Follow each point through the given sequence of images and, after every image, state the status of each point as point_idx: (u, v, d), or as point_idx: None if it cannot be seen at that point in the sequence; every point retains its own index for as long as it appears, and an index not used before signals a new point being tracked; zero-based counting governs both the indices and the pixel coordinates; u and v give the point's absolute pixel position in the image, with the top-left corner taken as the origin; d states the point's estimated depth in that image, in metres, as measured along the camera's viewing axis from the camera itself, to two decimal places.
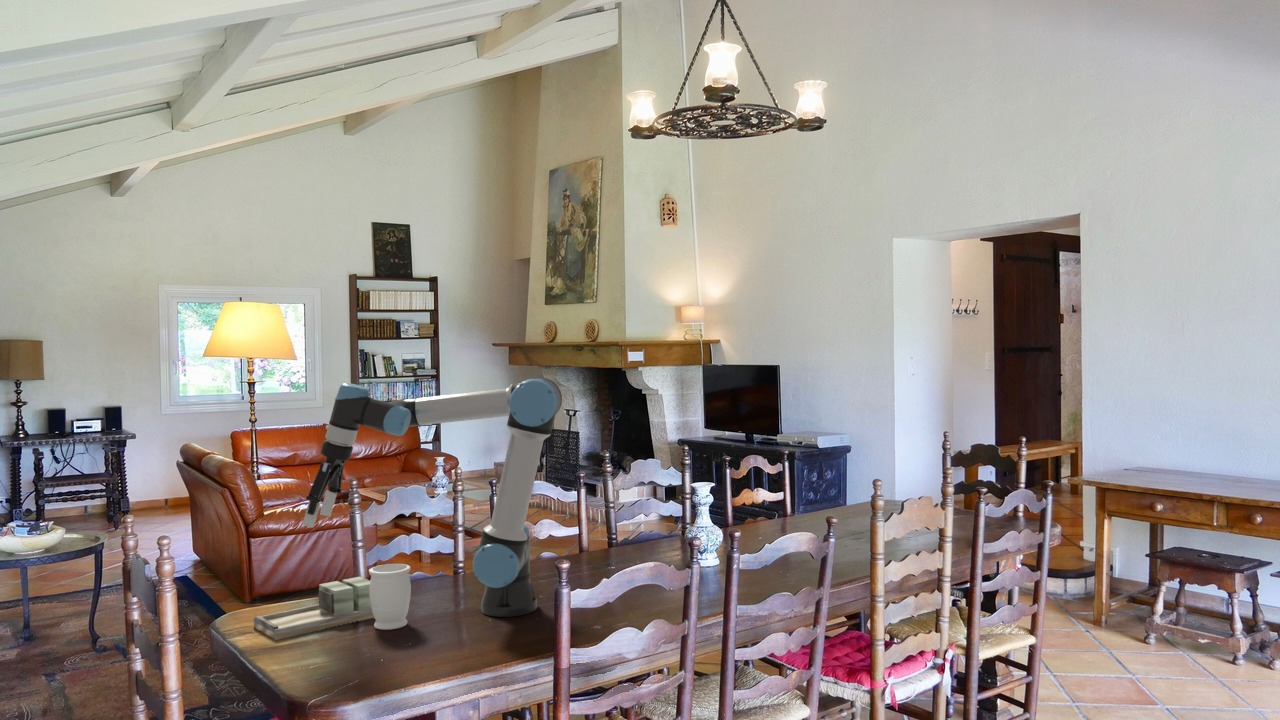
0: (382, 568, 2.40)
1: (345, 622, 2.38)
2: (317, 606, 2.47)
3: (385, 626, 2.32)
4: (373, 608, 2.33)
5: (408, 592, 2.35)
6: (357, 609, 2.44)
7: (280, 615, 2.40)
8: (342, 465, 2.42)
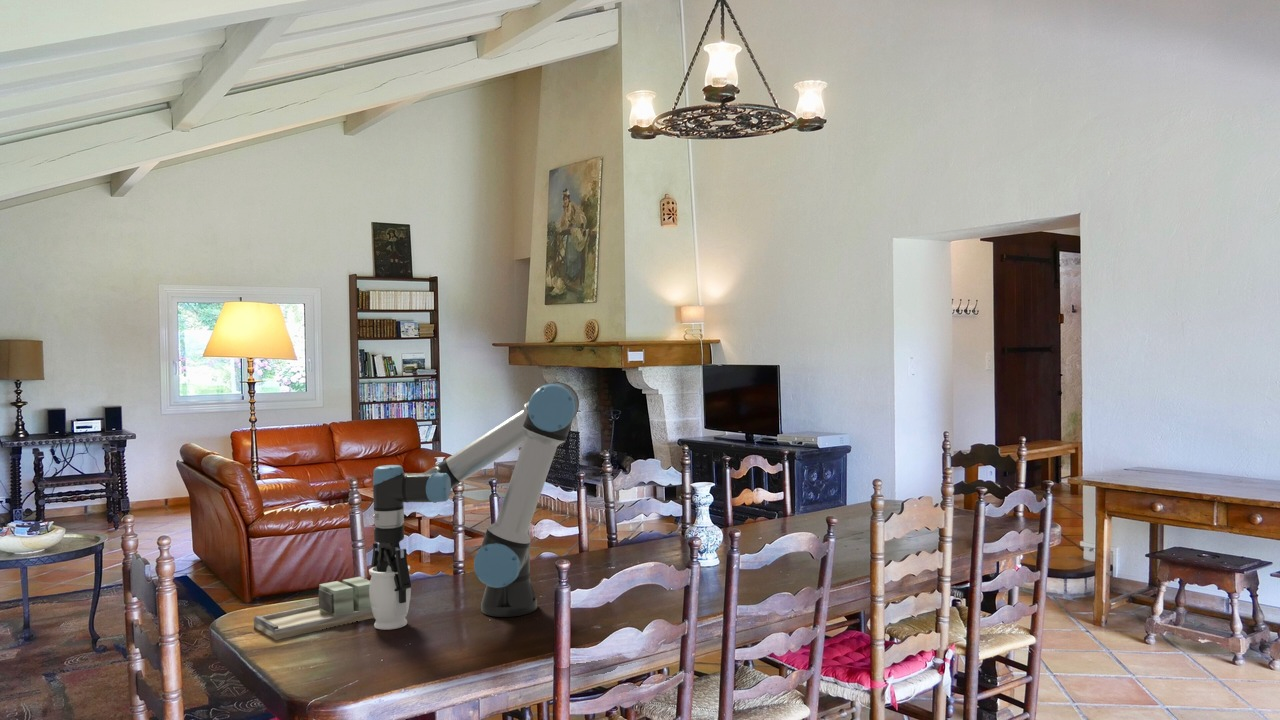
0: None
1: (345, 622, 2.38)
2: (317, 606, 2.47)
3: (385, 626, 2.32)
4: (373, 608, 2.33)
5: (408, 592, 2.35)
6: (357, 609, 2.44)
7: (280, 615, 2.40)
8: None
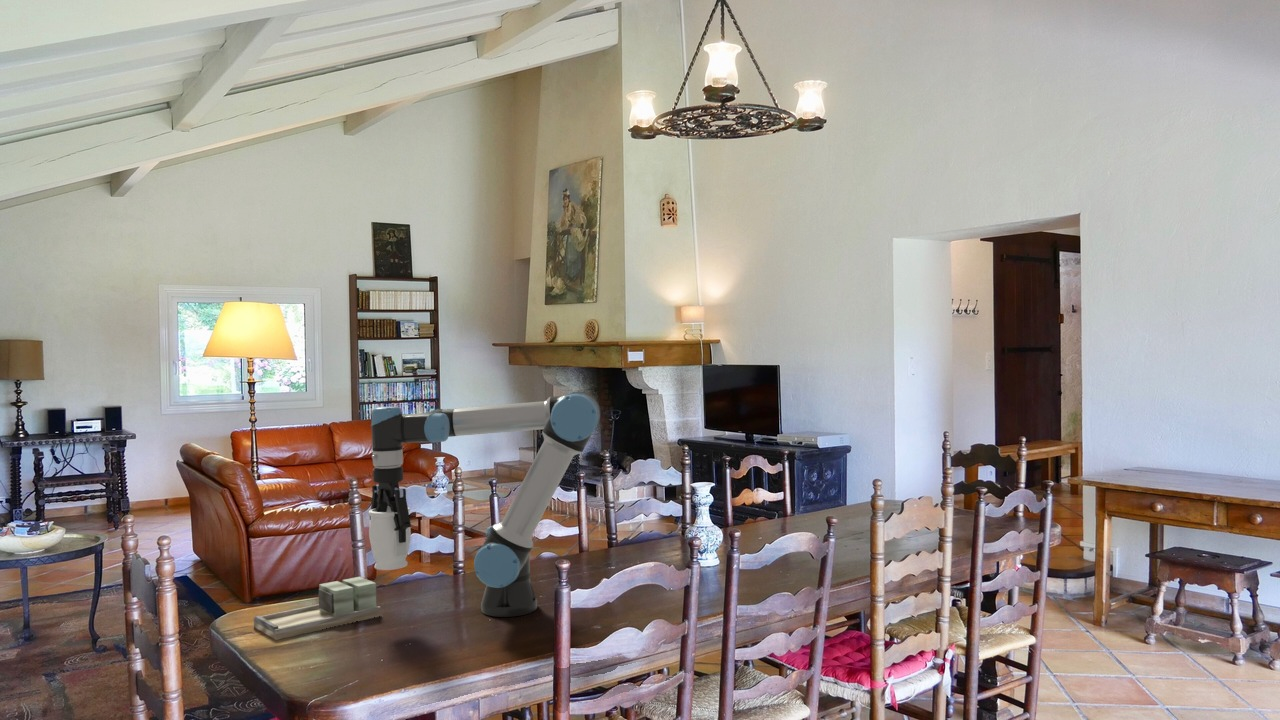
0: None
1: (345, 622, 2.38)
2: (317, 606, 2.47)
3: (385, 566, 2.32)
4: (373, 549, 2.33)
5: (408, 533, 2.35)
6: (357, 609, 2.44)
7: (280, 615, 2.40)
8: None
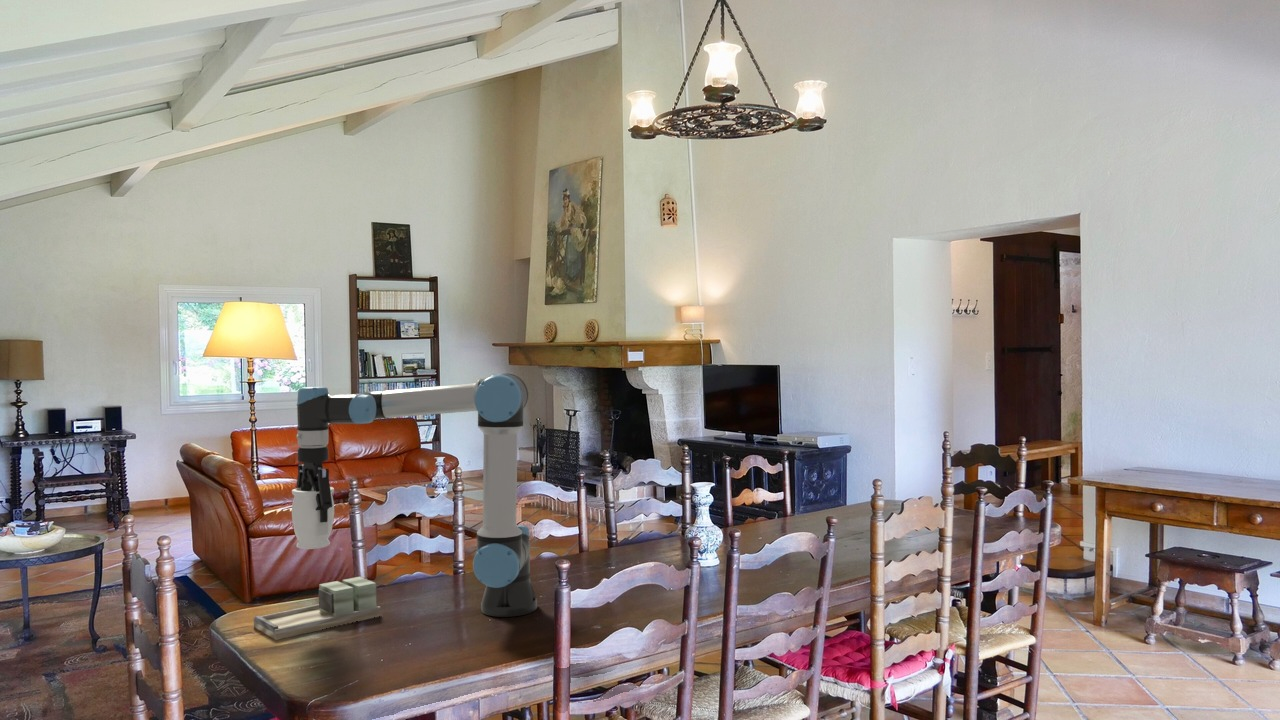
0: None
1: (345, 622, 2.38)
2: (317, 606, 2.47)
3: (306, 545, 2.33)
4: (295, 527, 2.33)
5: (331, 513, 2.36)
6: (357, 609, 2.44)
7: (280, 615, 2.40)
8: None
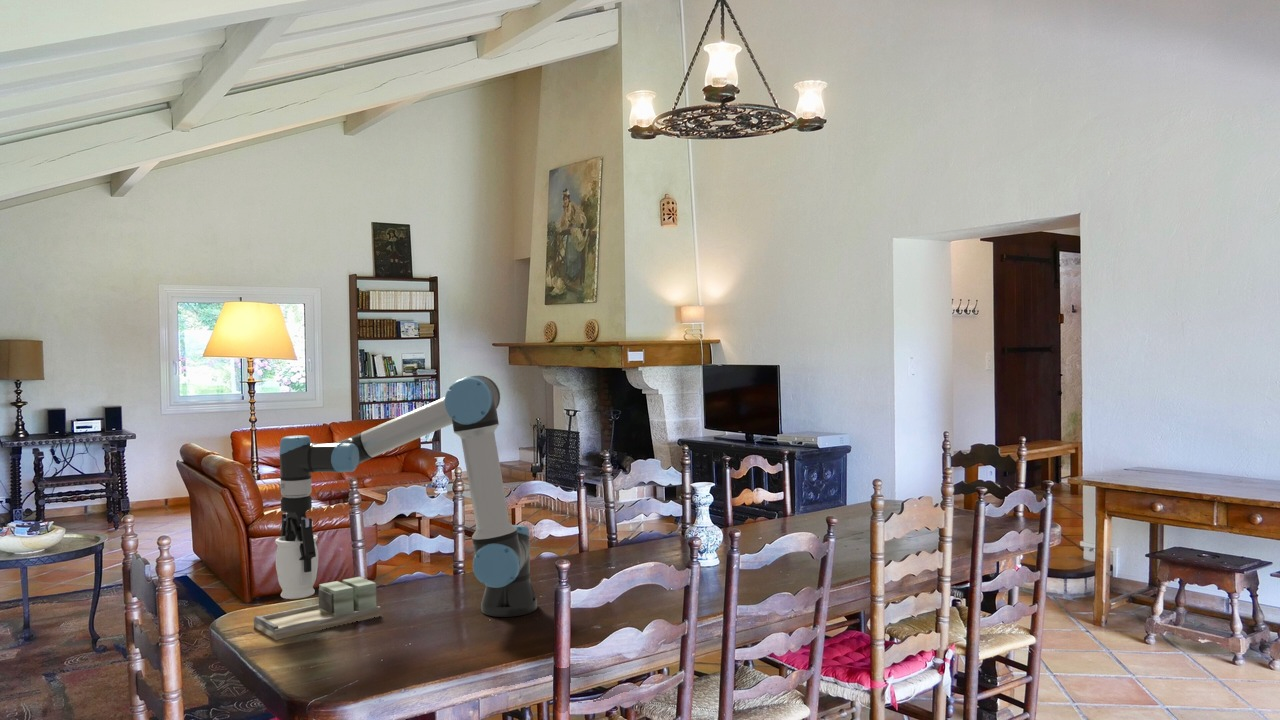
0: None
1: (345, 622, 2.38)
2: (317, 606, 2.47)
3: (291, 595, 2.33)
4: (279, 577, 2.34)
5: (314, 561, 2.36)
6: (357, 609, 2.44)
7: (280, 615, 2.40)
8: None
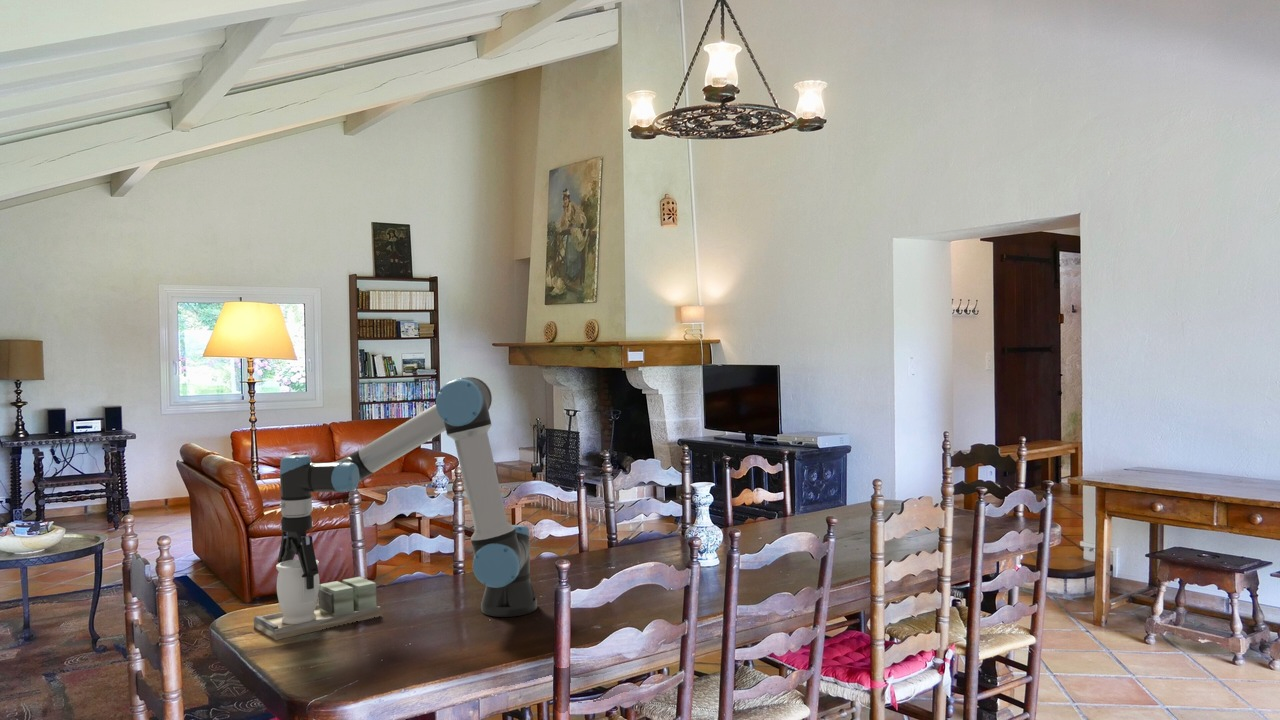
0: (291, 563, 2.41)
1: (345, 622, 2.38)
2: (317, 606, 2.47)
3: (292, 620, 2.33)
4: (280, 603, 2.34)
5: (316, 587, 2.36)
6: (357, 609, 2.44)
7: (280, 615, 2.40)
8: None
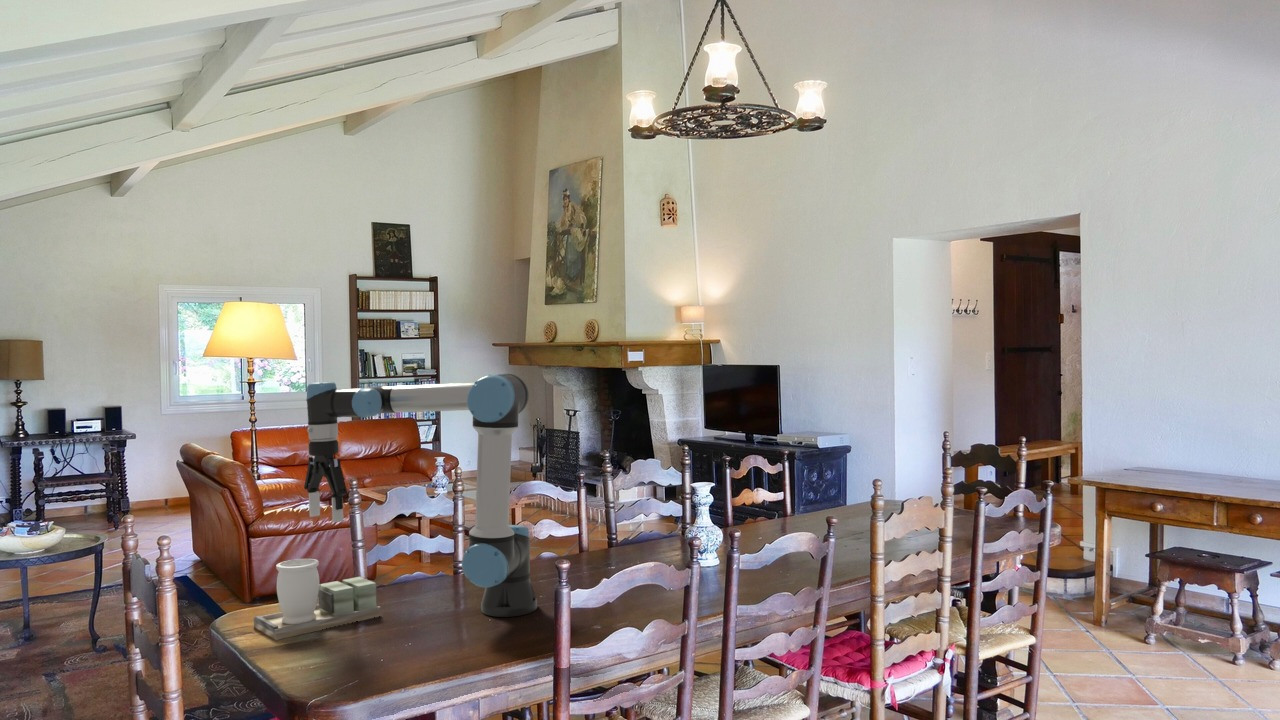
0: (291, 563, 2.41)
1: (345, 622, 2.38)
2: (317, 606, 2.47)
3: (292, 620, 2.33)
4: (280, 603, 2.34)
5: (315, 587, 2.36)
6: (357, 609, 2.44)
7: (280, 615, 2.40)
8: None
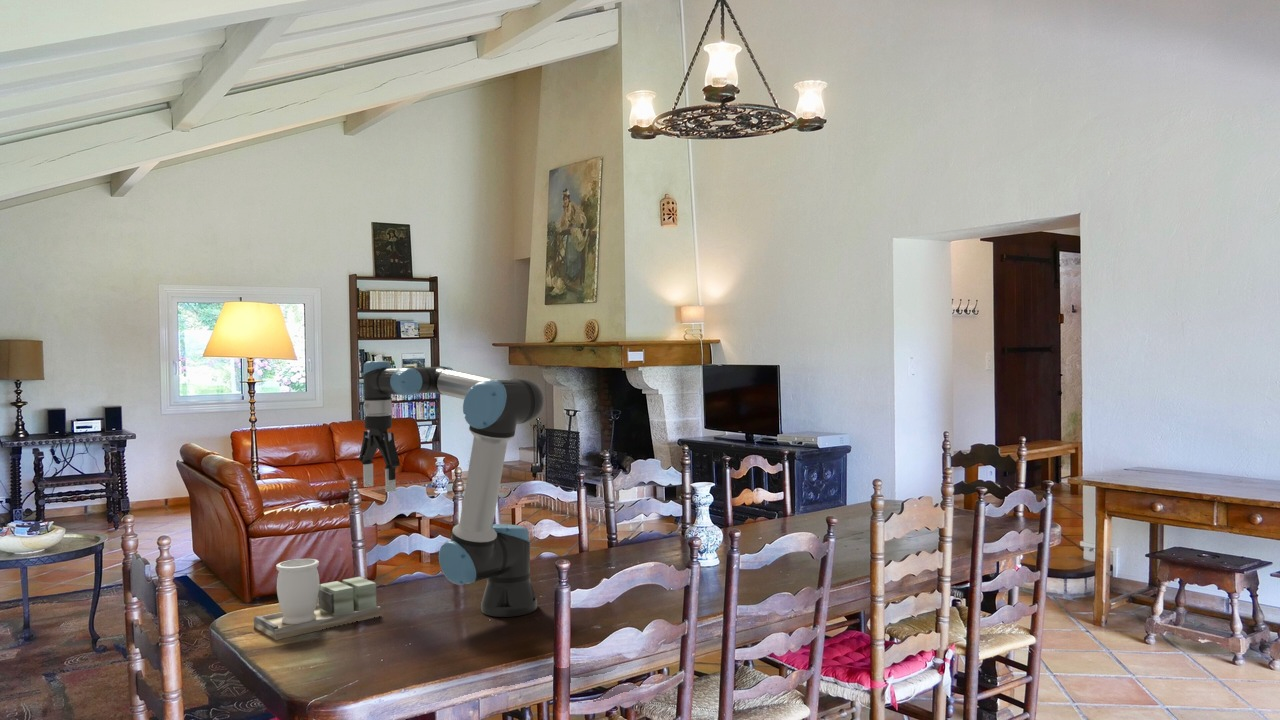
0: (292, 563, 2.41)
1: (345, 622, 2.38)
2: (317, 606, 2.47)
3: (292, 620, 2.33)
4: (280, 603, 2.34)
5: (316, 587, 2.36)
6: (357, 609, 2.44)
7: (280, 615, 2.40)
8: None
